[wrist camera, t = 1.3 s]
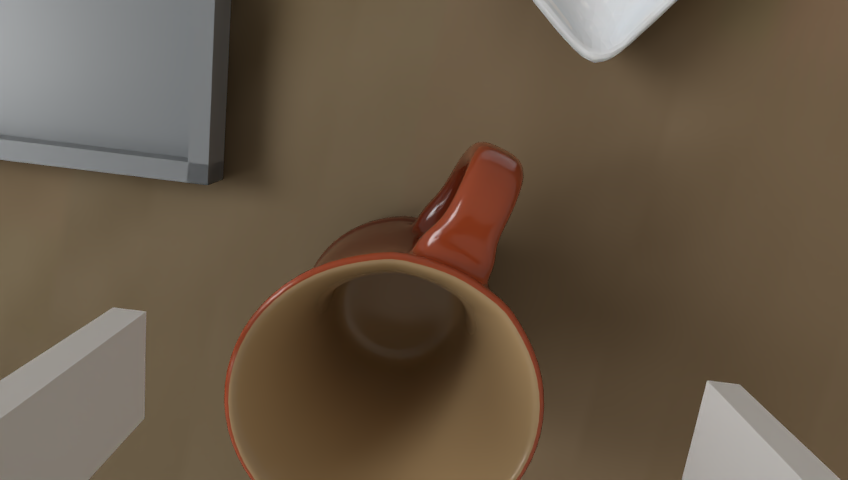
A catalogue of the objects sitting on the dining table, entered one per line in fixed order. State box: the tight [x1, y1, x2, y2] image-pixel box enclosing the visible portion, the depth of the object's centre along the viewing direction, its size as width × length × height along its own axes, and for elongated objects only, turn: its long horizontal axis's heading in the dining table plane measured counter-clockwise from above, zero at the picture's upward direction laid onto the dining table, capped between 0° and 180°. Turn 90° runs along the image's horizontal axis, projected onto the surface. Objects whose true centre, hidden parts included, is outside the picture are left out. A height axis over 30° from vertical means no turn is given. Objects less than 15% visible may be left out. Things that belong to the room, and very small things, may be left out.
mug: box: [224, 142, 544, 480], centre depth 21 cm, size 12×9×10 cm
